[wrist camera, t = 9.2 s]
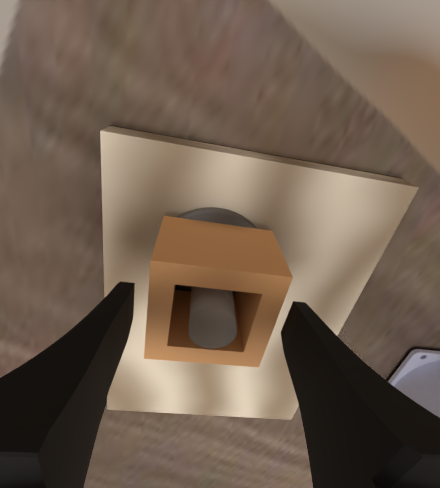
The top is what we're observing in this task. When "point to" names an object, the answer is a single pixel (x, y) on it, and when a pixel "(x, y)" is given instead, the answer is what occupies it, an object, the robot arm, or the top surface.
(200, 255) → the collar
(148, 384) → the post board
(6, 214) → the top surface
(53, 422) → the robot arm
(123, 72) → the top surface
